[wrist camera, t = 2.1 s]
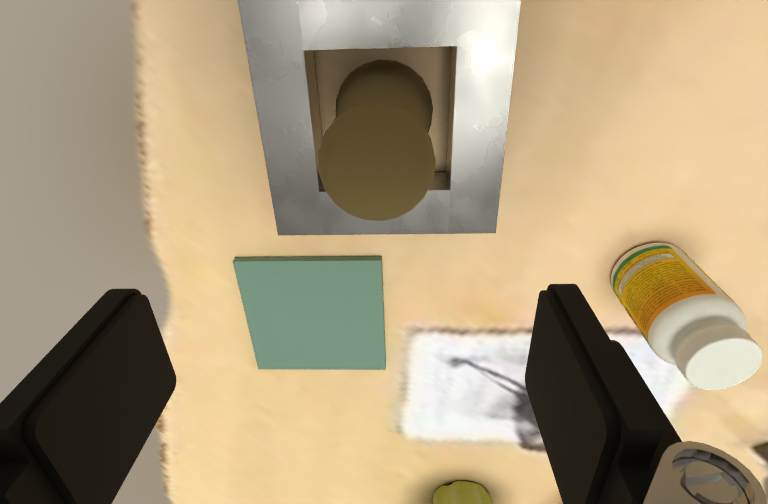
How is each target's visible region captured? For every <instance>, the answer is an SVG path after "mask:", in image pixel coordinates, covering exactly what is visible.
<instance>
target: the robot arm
mask: <svg viewBox="0 0 768 504" xmlns="http://www.w3.org/2000/svg"><path fill="white" fill-rule="evenodd" d="M525 384H526V389H527V393H528V396H529V399H530V402H531V405H532V408H533V411H534V414H535V417H536V421H537V424H538V427H539V430H540V433H541V436H542V439H543V442H544V445H545V449H546V452H547V455H548V458H549V461H550V464H551V467H552V470H553V473H554V476H555V480H556V483H557V486H558V489H559V492H560V495H561V498H562V501H563V504H767V501H766V495H765V493H764V491H763V488H762V486H761V484H760V482H759V481H758V480H757V479H756V478H755V476H754V475H753V474H752V473H751V471H750V470H749V469H748V468H746V467H745V466H744V465H743V464H742V463H740V462H739V461H738V460H737V459H736V458H734V457H732V456H730V455H729V454H727V453H725V452H724V451H722V450H720V449H717V448H715V447H712V446H710V445H707V444H703V443H698V442H692V441H687V442H682V441H681V439H680V437H679V436H678V434H677V433H676V431H675V429H674V428H673V426H672V425H671V423H670V422H669V420H668V418H667V417H666V415H665V414H664V412H663V410H662V409H661V407H660V406H659V404H658V402H657V401H656V399H655V398H654V396H653V394H652V393H651V391H650V390H649V388H648V386H647V385H646V383H645V382H644V380H643V378H642V377H641V375H640V374H639V372H638V370H637V369H636V367H635V366H634V364H633V362H632V361H631V359H630V358H629V356H628V355H627V353H626V351H625V350H624V348H623V347H622V346H621V344H620V343H619V342H617V341H615V340H610V339H609V337H608V335H607V334H606V332H605V330H604V329H603V327H602V325H601V324H600V322H599V321H598V319H597V317H596V316H595V314H594V312H593V311H592V309H591V307H590V306H589V304H588V302H587V301H586V299H585V297H584V296H583V294H582V292H581V291H580V289H579V287H578V286H577V285H576V284H550V285H549V286H548V288H547V290H542V291H541V292H540V294H539V298H538V304H537V309H536V315H535V321H534V327H533V332H532V338H531V344H530V350H529V355H528V361H527V367H526V372H525ZM175 386H176V375H175V372H174V369H173V366H172V364H171V361H170V358H169V355H168V353H167V350H166V347H165V344H164V341H163V339H162V336H161V333H160V330H159V328H158V325H157V322H156V319H155V316H154V314H153V311H152V308H151V306H150V303H149V300H148V298H147V297H146V296H145V295H142V294H141V293H140V291H139V290H136V289H111V290H109V291H107V292H106V293H105V294H104V295H103V296H102V297H101V298H100V299H99V300H98V301H97V303H95V304H94V305H93V307H92V308H91V309H90V310H89V311H88V312H87V313H86V314H85V315H84V316H83V317H82V318H81V319H80V320H79V321H78V322H77V324H75V325H74V327H73V328H72V329H71V330H70V331H69V332H68V333H67V334H66V335H65V336H64V337H63V338H62V339H61V340H60V341H59V342H58V344H56V345H55V346H54V348H53V349H52V350H51V351H50V352H49V353H48V354H47V355H46V356H45V357H44V358H43V359H42V360H41V361H40V362H39V363H38V364H37V366H35V368H34V369H33V370H32V371H31V372H30V373H29V374H28V375H27V376H26V377H25V378H24V379H23V380H22V381H21V382H20V383H19V384H18V385H17V387H15V389H14V390H13V391H12V392H11V393H10V394H9V395H8V396H7V397H6V398H5V399H4V400H3V401H2V402H1V403H0V504H111V503H112V502H113V500H114V498H115V496H116V495H117V493H118V491H119V489H120V487H121V486H122V484H123V482H124V480H125V478H126V476H127V475H128V473H129V471H130V469H131V467H132V466H133V464H134V462H135V460H136V458H137V457H138V455H139V453H140V451H141V449H142V447H143V446H144V444H145V442H146V440H147V438H148V437H149V435H150V433H151V431H152V429H153V428H154V426H155V424H156V422H157V420H158V419H159V417H160V415H161V413H162V411H163V409H164V408H165V406H166V404H167V402H168V400H169V399H170V397H171V395H172V393H173V391H174V389H175Z"/></svg>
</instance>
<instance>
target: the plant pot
mask: <svg viewBox="0 0 768 504" xmlns="http://www.w3.org/2000/svg"><path fill="white" fill-rule="evenodd" d="M432 504H492V501H491V498H490V495H489V494H488V493H487V491H486V490H485V489H484V487H482V486H481V485H479V484H476V483H473V482H468V481H456V482H454V483H452V484H451V485H448V486H441V487H439V488H438V489H437V490H436V491H435V493H434V495H433V502H432Z"/></svg>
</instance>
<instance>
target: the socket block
mask: <svg viewBox="0 0 768 504" xmlns="http://www.w3.org/2000/svg"><path fill="white" fill-rule="evenodd" d="M238 4H239V10H240V16H241V21H242V27H243V33H244V39H245V45H246V51H247V56H248V62H249V68H250V74H251V80H252V86H253V91H254V97H255V103H256V109H257V115H258V121H259V126H260V132H261V138H262V144H263V150H264V155H265V161H266V167H267V173H268V179H269V185H270V190H271V196H272V202H273V208H274V214H275V220H276V225H277V231H278V235H355V234H456V233H496V225H497V216H498V206H499V197H500V188H501V179H502V170H503V161H504V152H505V143H506V133H507V124H508V115H509V106H510V97H511V88H512V79H513V70H514V61H515V51H516V42H517V33H518V24H519V15H520V6H521V0H238ZM440 46H452V47H451V71H450V94H449V118H448V141H447V165H446V172H434V178H433V180H432V182H431V184H430V187H429V189H428V191H427V193H426V195H425V197H424V198H423V199H422V200H421V201H420V202H419V203H418V204H417V205H416V206H415V207H414V208H413V210H411V211H409V212H407V213H405V214H403V215H402V216H400V217H398V218H394V219H389V220H384V221H372V220H363V219H361V218H358V217H355V216H352V215H350V214H348V213H347V212H345V211H344V210H342V209H341V208H340V207H338V206H337V205H336V204H335V203H334V202H333V201H332V199H331V198H330V197H329V195H328V194H327V193H326V191H325V189H324V186H323V183H322V181H321V178H320V175H319V171H318V152H319V149H320V146H321V143H322V139H323V137H322V128H321V118H320V108H319V98H318V88H317V78H316V68H315V59H314V50H334V49H370V48H405V47H440Z"/></svg>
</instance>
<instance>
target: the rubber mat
mask: <svg viewBox="0 0 768 504" xmlns="http://www.w3.org/2000/svg"><path fill="white" fill-rule="evenodd" d="M233 264H234V269H235V273H236V277H237V281H238V285H239V290H240V294H241V298H242V302H243V306H244V311H245V315H246V319H247V323H248V327H249V332H250V336H251V340H252V344H253V348H254V352H255V357H256V361H257V365H258V369H349V370H386V357H385V332H384V306H383V280H382V256H342V257H235V259H234V260H233Z"/></svg>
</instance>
